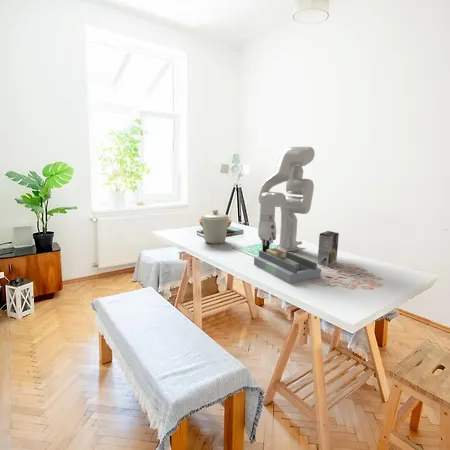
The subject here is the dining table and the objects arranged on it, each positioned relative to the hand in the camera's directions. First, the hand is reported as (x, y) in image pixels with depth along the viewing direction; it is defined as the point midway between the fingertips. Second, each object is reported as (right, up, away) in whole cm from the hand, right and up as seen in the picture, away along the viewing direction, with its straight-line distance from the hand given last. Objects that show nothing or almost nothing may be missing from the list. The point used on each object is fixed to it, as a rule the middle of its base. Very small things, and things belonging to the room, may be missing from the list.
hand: (265, 252), depth 169 cm
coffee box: (+32, -6, -1) cm, 32 cm away
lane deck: (+8, -8, -14) cm, 18 cm away
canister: (-28, +3, +38) cm, 47 cm away
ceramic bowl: (-29, +10, +71) cm, 77 cm away
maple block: (+4, -2, -7) cm, 9 cm away
